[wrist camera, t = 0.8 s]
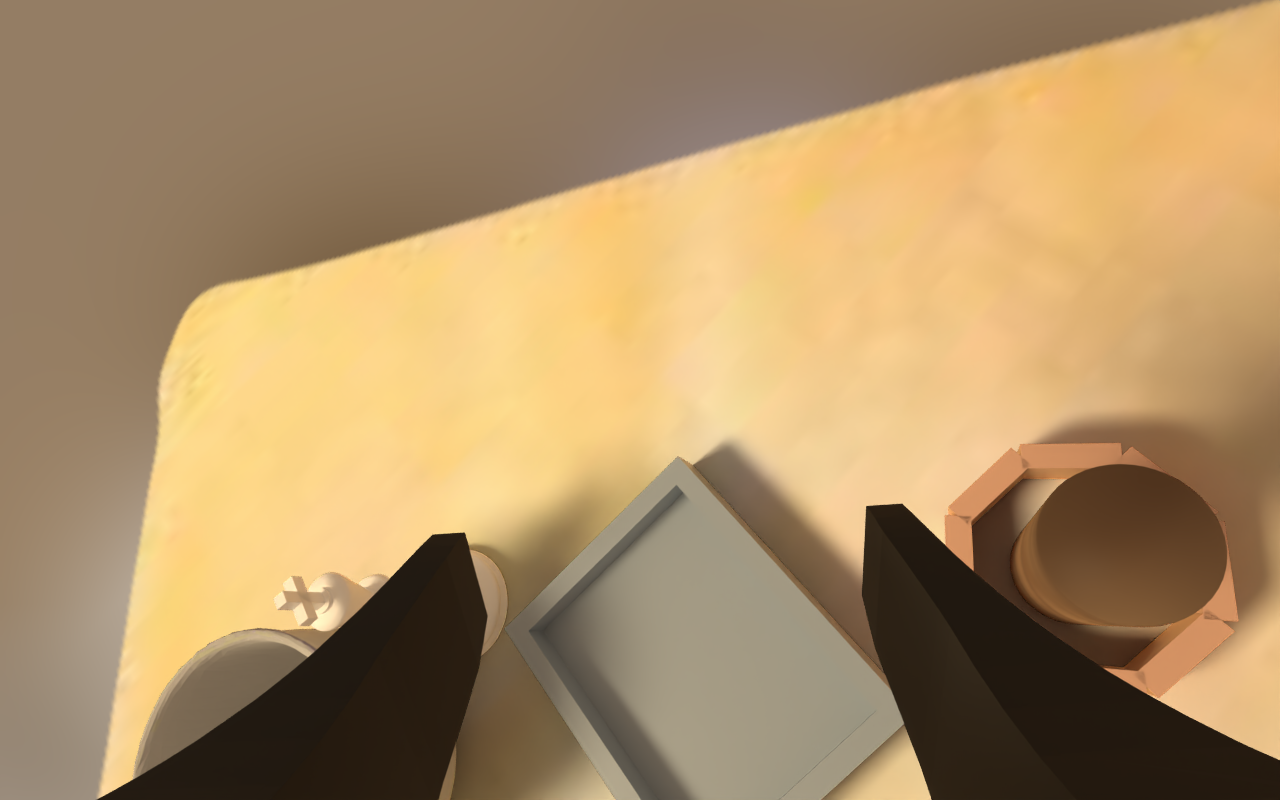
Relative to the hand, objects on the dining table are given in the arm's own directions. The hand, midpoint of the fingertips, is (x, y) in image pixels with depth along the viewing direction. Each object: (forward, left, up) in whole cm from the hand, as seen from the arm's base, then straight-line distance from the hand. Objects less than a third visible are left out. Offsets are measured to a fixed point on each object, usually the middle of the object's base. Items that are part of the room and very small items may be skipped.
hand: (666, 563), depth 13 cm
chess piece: (+10, +12, -16) cm, 22 cm away
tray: (+1, +5, -16) cm, 17 cm away
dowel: (-5, -7, -16) cm, 18 cm away
